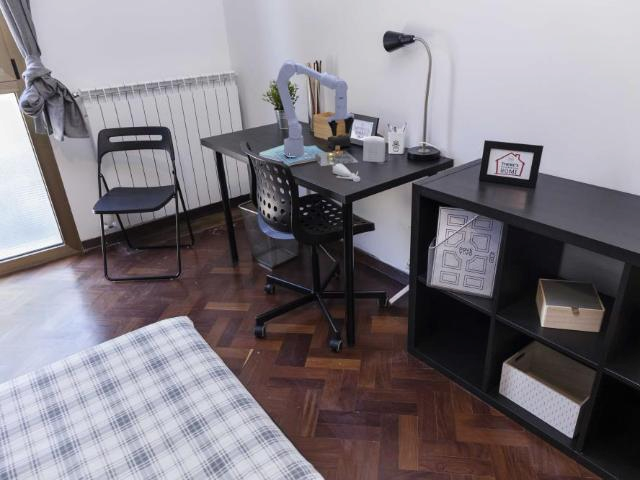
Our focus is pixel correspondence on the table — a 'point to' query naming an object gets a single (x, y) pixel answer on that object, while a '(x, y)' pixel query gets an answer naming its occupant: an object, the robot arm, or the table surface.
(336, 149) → the gear
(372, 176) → the table surface
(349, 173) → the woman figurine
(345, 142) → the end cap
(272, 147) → the table surface
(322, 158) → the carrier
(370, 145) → the photo printer
